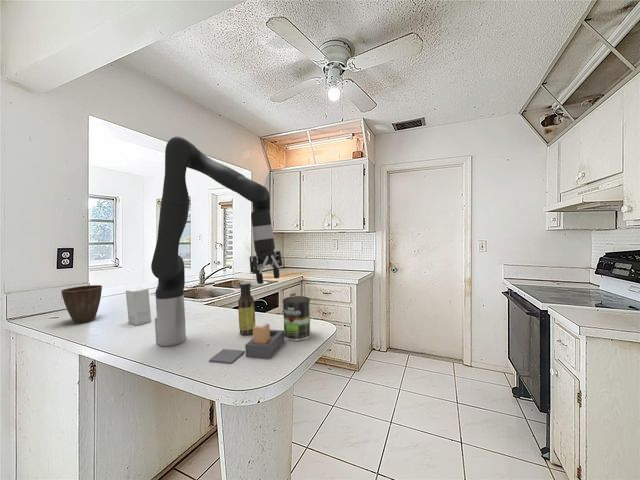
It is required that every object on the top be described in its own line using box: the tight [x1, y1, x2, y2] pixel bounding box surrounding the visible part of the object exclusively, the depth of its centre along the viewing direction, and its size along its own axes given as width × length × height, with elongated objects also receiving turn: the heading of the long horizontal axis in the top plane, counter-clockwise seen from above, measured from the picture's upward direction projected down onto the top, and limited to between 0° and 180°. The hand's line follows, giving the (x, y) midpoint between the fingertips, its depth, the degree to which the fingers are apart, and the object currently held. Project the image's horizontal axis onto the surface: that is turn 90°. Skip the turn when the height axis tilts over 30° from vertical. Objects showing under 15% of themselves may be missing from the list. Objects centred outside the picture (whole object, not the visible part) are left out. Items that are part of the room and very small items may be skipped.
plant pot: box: [60, 284, 103, 324], centre depth 134 cm, size 15×15×16 cm
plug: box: [252, 322, 271, 344], centre depth 93 cm, size 4×4×10 cm
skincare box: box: [125, 287, 152, 326], centre depth 129 cm, size 8×7×16 cm
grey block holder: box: [244, 329, 286, 360], centre depth 96 cm, size 8×14×4 cm, turn 166°
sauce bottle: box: [237, 282, 256, 336], centre depth 112 cm, size 6×6×20 cm
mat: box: [208, 348, 246, 365], centre depth 91 cm, size 8×8×1 cm
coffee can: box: [282, 295, 312, 342], centre depth 107 cm, size 10×10×14 cm
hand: (268, 280), depth 105 cm, fingers open, 8 cm apart
